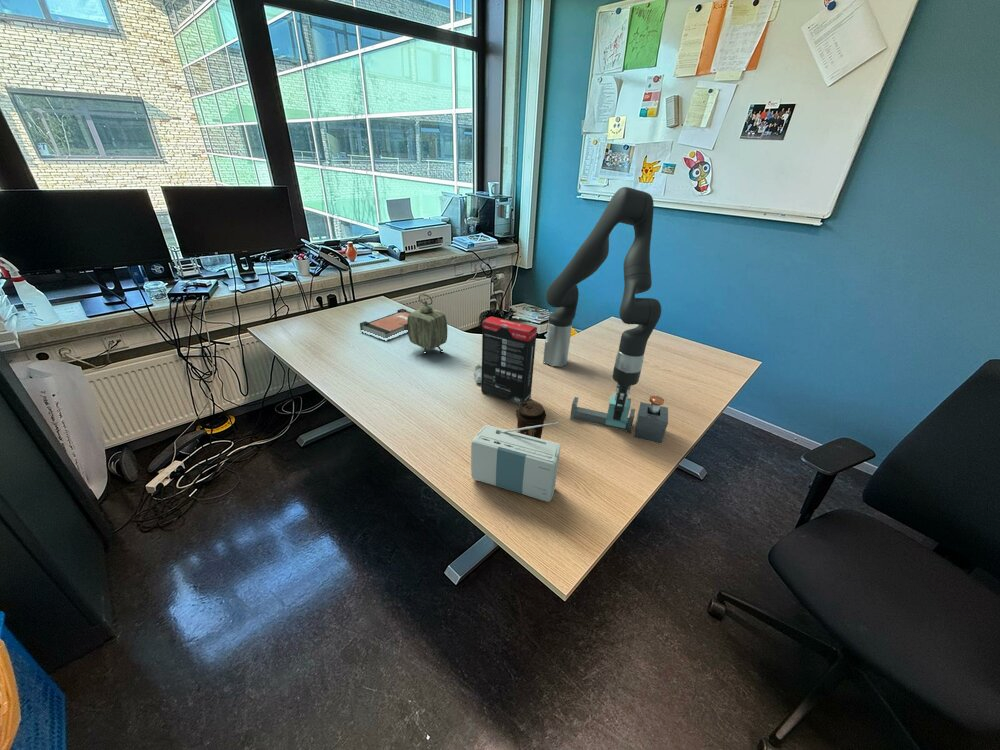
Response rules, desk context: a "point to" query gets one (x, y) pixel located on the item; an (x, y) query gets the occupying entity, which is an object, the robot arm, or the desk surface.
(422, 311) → the tabletop clock
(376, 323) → the book
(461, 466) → the desk surface
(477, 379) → the male figure
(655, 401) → the plunger
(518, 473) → the stereo radio cassette player
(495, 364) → the graphics card box
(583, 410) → the rail
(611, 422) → the carriage
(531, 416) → the coffee cup
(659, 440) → the grey cube with hole
